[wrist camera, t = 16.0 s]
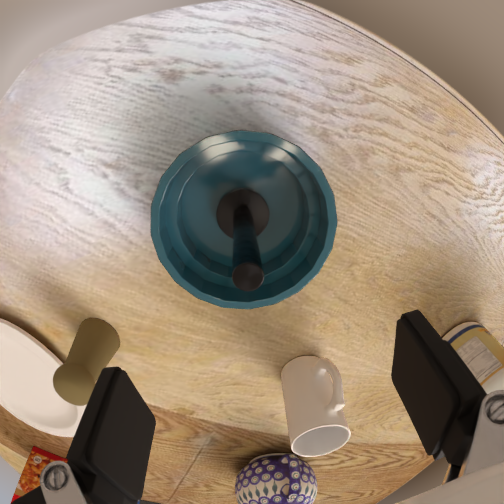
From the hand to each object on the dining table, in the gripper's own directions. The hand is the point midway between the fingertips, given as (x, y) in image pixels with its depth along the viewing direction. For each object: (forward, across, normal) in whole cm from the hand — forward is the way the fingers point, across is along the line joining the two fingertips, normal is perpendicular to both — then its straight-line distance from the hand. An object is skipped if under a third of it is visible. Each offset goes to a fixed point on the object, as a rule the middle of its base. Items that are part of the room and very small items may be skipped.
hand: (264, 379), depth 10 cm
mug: (+23, -4, +23) cm, 32 cm away
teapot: (+23, +6, +50) cm, 55 cm away
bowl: (+23, 0, +1) cm, 23 cm away
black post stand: (+22, +1, +1) cm, 22 cm away
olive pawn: (+23, +22, +13) cm, 34 cm away
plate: (+22, +44, +20) cm, 53 cm away
